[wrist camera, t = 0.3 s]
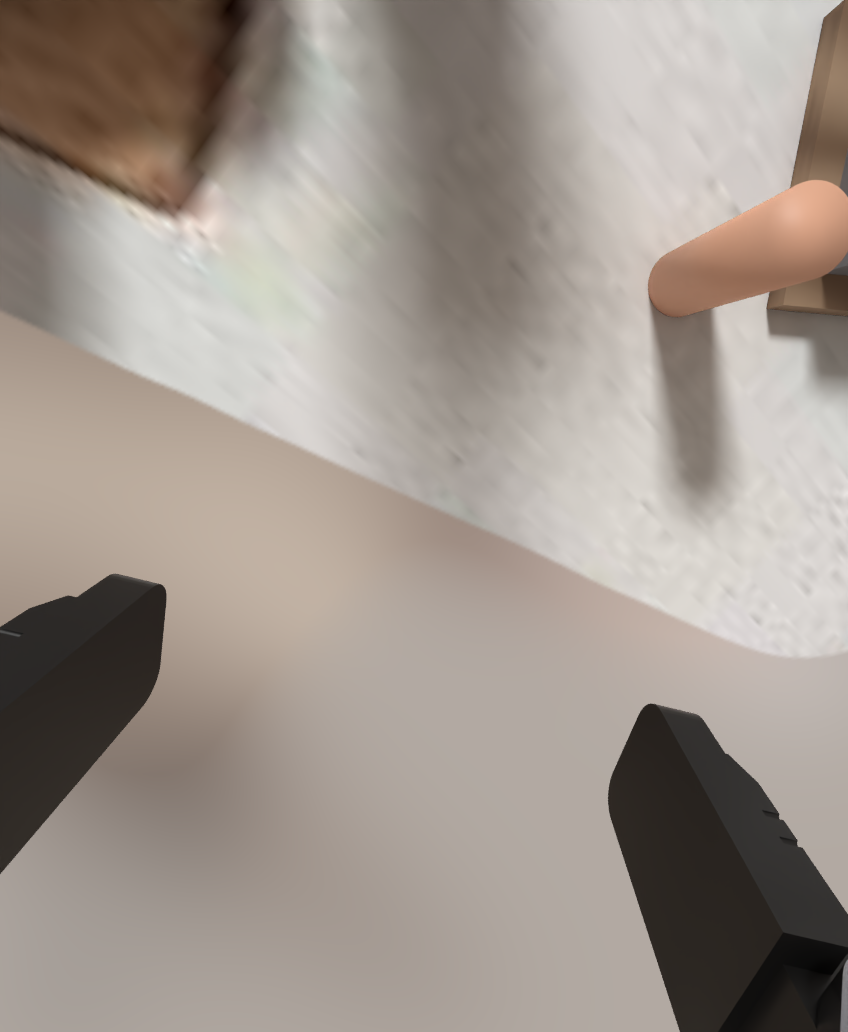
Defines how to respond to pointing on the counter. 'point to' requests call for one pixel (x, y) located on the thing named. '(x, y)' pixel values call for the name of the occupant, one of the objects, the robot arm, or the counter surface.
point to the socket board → (823, 157)
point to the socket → (844, 266)
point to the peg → (756, 251)
